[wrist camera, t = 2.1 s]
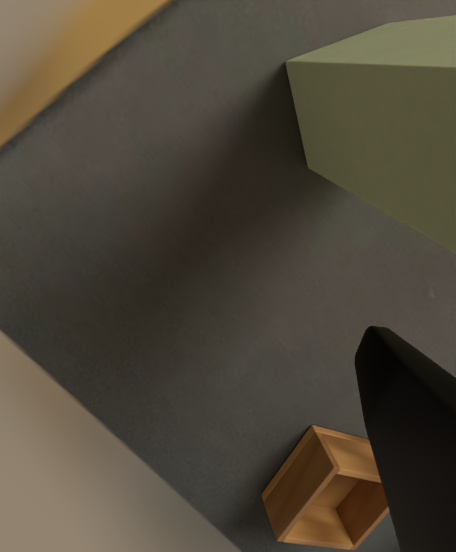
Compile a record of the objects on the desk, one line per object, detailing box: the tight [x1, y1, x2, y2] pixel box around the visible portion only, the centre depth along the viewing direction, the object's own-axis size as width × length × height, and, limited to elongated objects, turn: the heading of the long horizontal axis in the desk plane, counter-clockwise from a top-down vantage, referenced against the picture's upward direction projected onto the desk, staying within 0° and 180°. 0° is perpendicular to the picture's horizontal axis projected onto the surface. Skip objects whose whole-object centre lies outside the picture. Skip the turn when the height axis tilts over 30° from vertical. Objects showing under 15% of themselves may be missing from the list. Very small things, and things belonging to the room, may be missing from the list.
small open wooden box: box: [261, 425, 389, 550], centre depth 31 cm, size 7×7×4 cm
